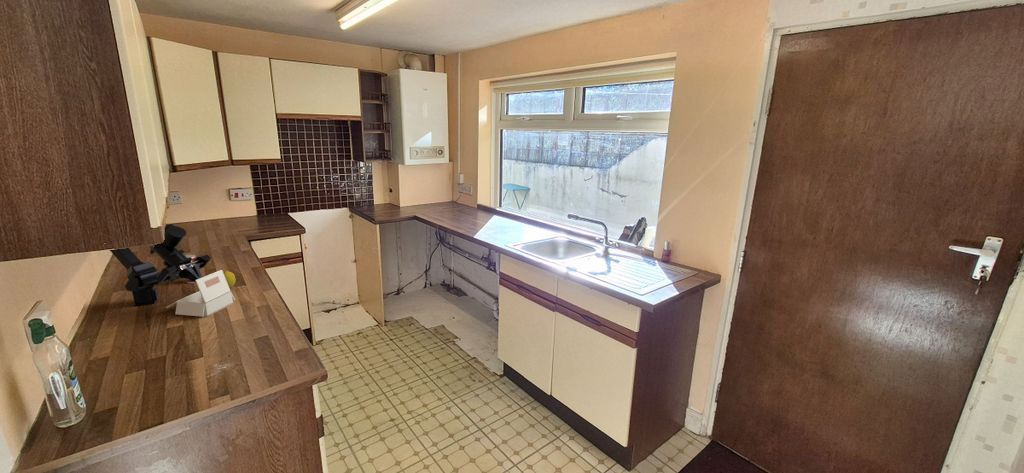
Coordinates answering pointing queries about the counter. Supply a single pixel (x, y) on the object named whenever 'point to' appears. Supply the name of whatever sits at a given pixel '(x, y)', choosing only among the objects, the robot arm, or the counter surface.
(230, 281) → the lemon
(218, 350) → the counter surface
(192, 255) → the soda can
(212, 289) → the carton flap
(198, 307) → the carton
